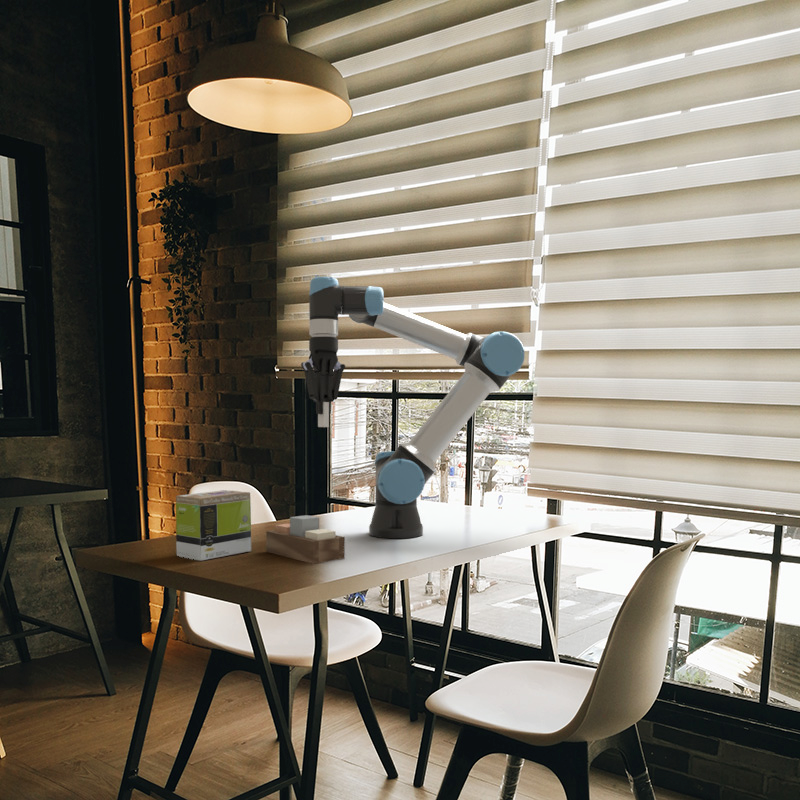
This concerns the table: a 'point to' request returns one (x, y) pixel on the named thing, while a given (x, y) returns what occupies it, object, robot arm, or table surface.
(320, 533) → the cream block
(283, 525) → the salmon pink block
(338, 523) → the table surface
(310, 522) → the blue-grey block
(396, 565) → the table surface
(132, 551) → the table surface
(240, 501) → the tea box
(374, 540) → the table surface
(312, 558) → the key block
